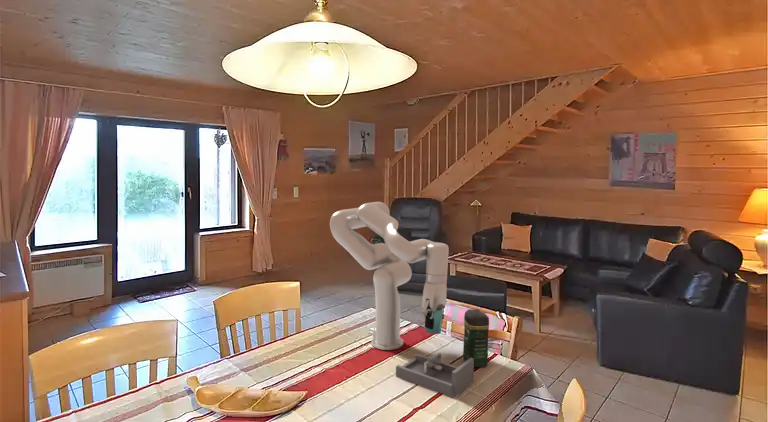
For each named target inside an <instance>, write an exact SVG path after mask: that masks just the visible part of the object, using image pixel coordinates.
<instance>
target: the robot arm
mask: <svg viewBox="0 0 768 422" xmlns="http://www.w3.org/2000/svg"><path fill="white" fill-rule="evenodd" d="M365 227H368V228H369V229H370V230H371V231H373V232H374V233H375V234H377V235H378V236H379V237H381V238H382V239H383V241H384V243H382V242H379V243H374V244H373V243H370V242H369V241H368V240H367V239H366V238H365V237H364V236H363V235H362V234H360V233H358V232H356V231H355V229H361V228H365ZM329 228H330V232H331V235H332V237H333V239H335V241H336V242H337V244H339V245H340V246H342V247H343V249H345V251H347V252H348V253H349V255H351V256H352V257H353V259H354V260H355V261H356V262H357V263H359V265H360V266H361V267H362V268H363V269H364V270H368V271H371V270H375V269H376V270H375V271H374V273H373V277H372V281H373V287H374V292H375V293H374V294H375V324H374V325H375V328H374V327H371V328H370V329H369V331H368V335H370V336H372V339H371V345H372V347H374V348H376V349H378V350H383V351H393V350H394V351H395V350H398V349H400V348H402V347H404V339H403V338H402V337H401V335H400V334H401V298H400V293H399V291H398V287H399V286H401V285H405V284H406V283H408V282H409V281H410V280H411V278H412V274H413V273H412V272H413V271H412V268H411V266H410V264H414V263H418V262H420V261H424V260H426V269H425V282H424V285H423V290H422V299H421V309H422V310H421V313H422V314H423V315H424V319H425V320H424V327H425V329H426V328H428V329H431V330H432V329H433V325H434V319H433V315H434V311H435V310H436V309H437V307H438V306H440V305H442V304H443V310H442V322H444V321H443V318H444V316H443V315H444V312H445V311H444V310H445V308H446V304H447V294H448V293H447V282H448V281H447V280H448V268H449V266H448V265H449V250H450V249H449V245H448V244H446V243H443V242H436V241H432V240H430V239H425V238H420V239H415V240H411V241H409V240H407V239H406V238H405V237H403V236H402V235H401V234H400V233H399V232H398V229H399V221H398V220H397V219H396V218H395V217H393V216H391V214H390V208H389V207H388V205H387V204H386V203H385V202H382V201H373V202H371V201H370V202H366V203H362V204H361V205H360V206H359V207H354V208H347V209H346V208H345V209H341V210H337V211H336V212H334V213H333V214H332V215H331V217H330V220H329ZM429 307H430V308H431V309H428V308H429ZM429 311H431V314H430V313H429Z"/></svg>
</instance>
